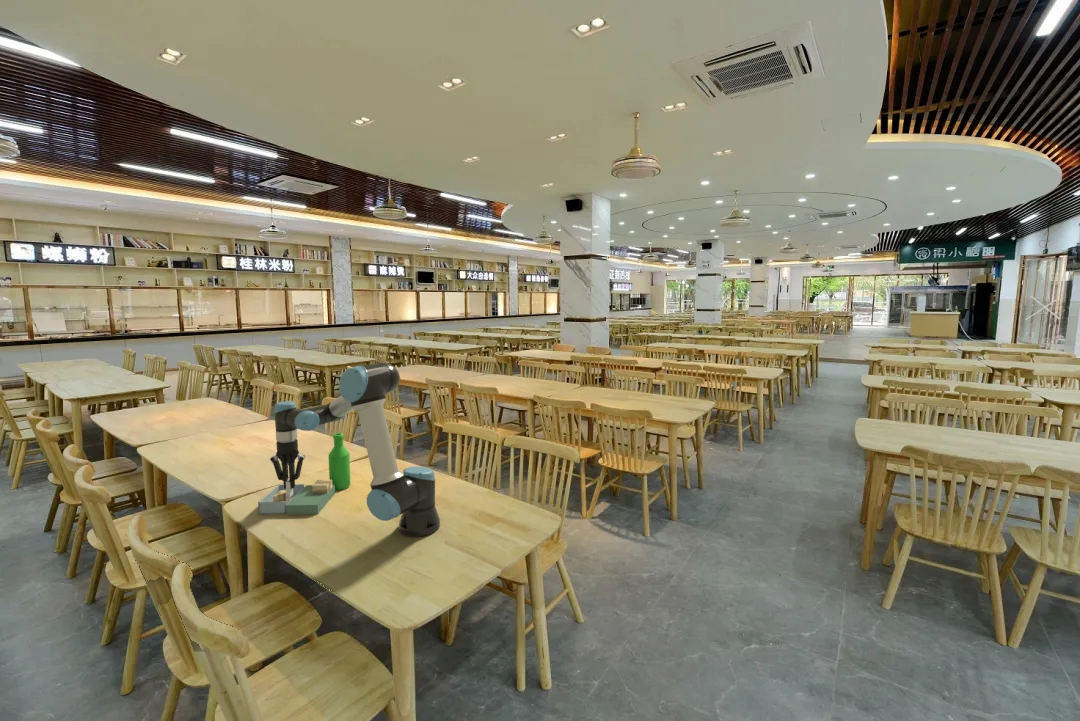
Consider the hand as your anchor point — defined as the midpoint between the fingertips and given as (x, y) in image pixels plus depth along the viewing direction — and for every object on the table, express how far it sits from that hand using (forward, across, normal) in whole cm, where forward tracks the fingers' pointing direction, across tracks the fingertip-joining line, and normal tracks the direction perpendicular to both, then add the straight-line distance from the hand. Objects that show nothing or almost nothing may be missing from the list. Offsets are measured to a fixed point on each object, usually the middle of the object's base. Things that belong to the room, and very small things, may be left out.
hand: (289, 495), depth 189 cm
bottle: (+6, -13, -21) cm, 25 cm away
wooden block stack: (+1, -10, -8) cm, 13 cm away
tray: (+5, +5, -4) cm, 8 cm away
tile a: (+2, +2, 0) cm, 3 cm away
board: (+5, -7, -4) cm, 10 cm away
